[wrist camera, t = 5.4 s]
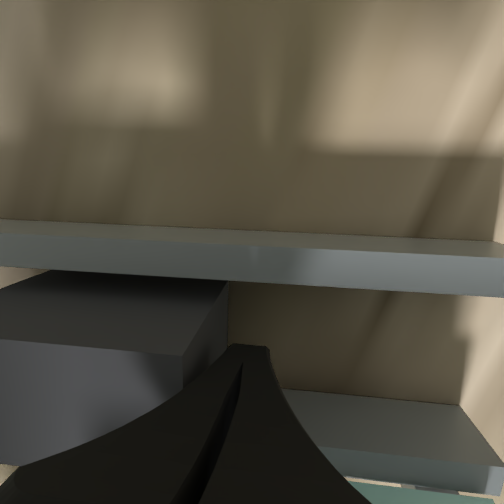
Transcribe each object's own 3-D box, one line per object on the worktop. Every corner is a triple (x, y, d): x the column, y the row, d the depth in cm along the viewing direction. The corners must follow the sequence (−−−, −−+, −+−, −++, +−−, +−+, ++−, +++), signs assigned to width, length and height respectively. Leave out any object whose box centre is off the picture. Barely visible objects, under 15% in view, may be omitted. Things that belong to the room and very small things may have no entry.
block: (227, 363, 14) (185, 489, 8) (63, 348, 15) (-78, 453, 9) (228, 279, 13) (182, 355, 8) (54, 268, 14) (-108, 329, 8)
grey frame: (446, 472, 14) (558, 678, 8) (-37, 414, 17) (-215, 542, 11) (493, 241, 12) (698, 301, 6) (-79, 215, 14) (-336, 239, 8)
